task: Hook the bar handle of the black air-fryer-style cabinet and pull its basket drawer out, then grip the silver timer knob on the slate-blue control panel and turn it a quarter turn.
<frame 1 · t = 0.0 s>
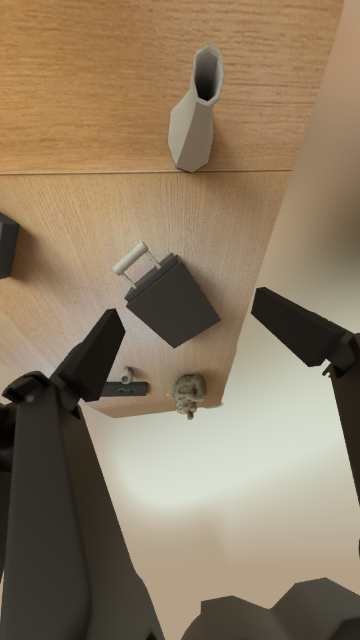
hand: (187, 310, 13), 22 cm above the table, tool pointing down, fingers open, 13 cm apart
teapot: (185, 377, 56), on the table
flask: (190, 140, 21), on the table
smart home device: (122, 387, 55), on the table
basket: (164, 291, 29), point 5 cm above the table, slide at 0.0 cm, touching fryer
fryer: (174, 297, 35), on the table
wristwatch: (129, 370, 50), on the table
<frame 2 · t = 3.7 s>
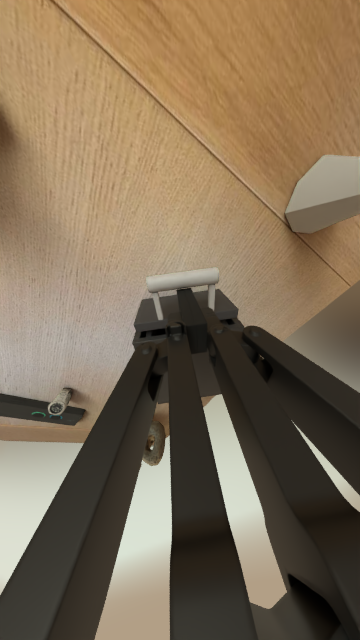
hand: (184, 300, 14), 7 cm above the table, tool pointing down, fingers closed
teapot: (139, 414, 45), on the table
flask: (312, 200, 17), on the table
smart home device: (43, 407, 37), on the table
basket: (186, 331, 21), point 5 cm above the table, slide at 0.8 cm, touching gripper
fryer: (185, 336, 27), on the table
wristwatch: (67, 391, 34), on the table
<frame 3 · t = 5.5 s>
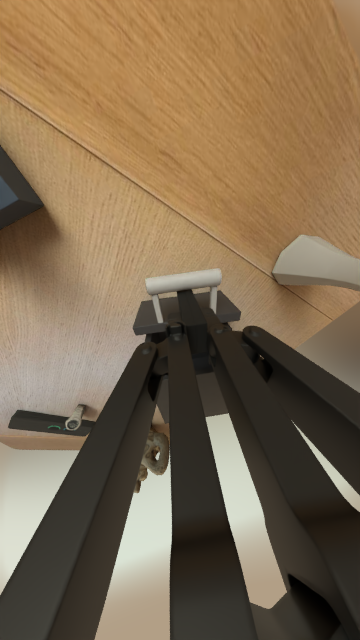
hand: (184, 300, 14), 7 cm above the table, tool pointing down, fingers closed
teapot: (144, 425, 48), on the table
flask: (294, 262, 20), on the table
smart home device: (57, 420, 40), on the table
basket: (186, 333, 20), point 5 cm above the table, slide at 8.1 cm
fryer: (188, 361, 31), on the table
wristwatch: (81, 407, 37), on the table
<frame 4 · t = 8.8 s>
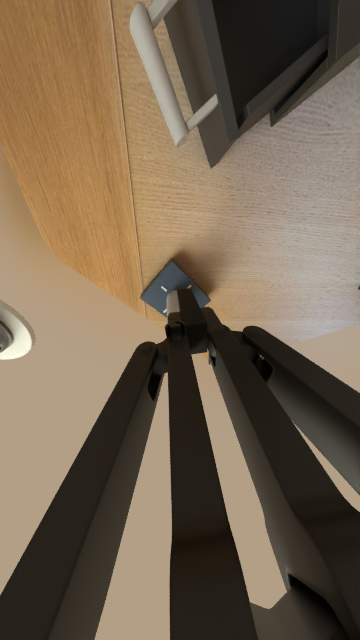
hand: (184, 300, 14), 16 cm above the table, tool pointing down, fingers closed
timer knob: (178, 309, 25), point 8 cm above the table, hinge at 0.0°
timer panel: (175, 294, 31), on the table
basket: (240, 34, 12), point 5 cm above the table, slide at 8.3 cm
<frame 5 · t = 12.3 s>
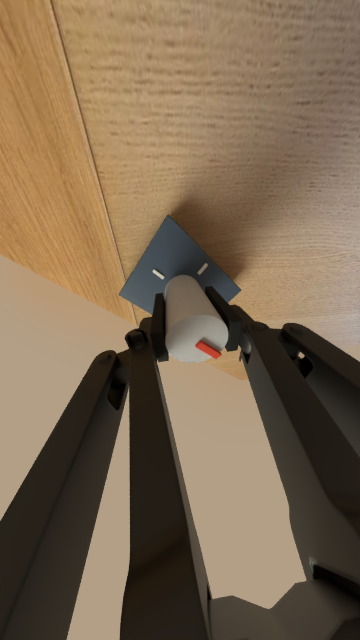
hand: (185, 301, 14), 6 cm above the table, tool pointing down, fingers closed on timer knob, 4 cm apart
timer knob: (187, 310, 13), point 8 cm above the table, hinge at 0.0°, touching gripper
timer panel: (180, 284, 19), on the table
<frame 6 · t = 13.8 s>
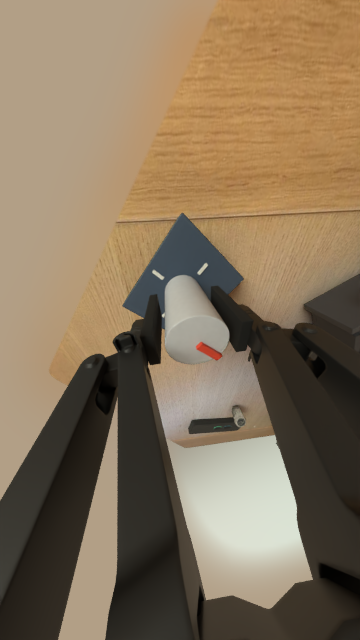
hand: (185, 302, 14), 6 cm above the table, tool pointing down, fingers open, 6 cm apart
timer knob: (188, 311, 12), point 8 cm above the table, hinge at 89.8°
timer panel: (180, 284, 19), on the table
smart home device: (215, 422, 50), on the table
wristwatch: (233, 408, 44), on the table
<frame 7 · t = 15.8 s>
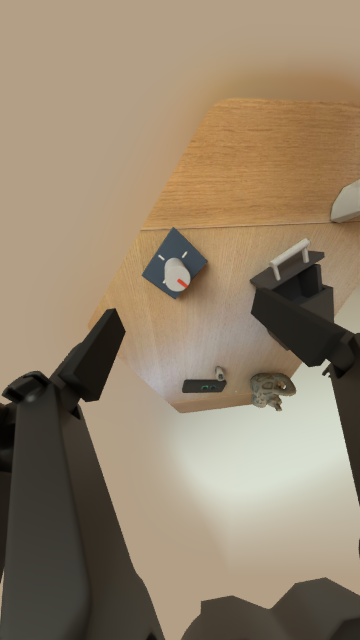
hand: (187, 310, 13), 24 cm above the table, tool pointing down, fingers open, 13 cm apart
teapot: (258, 375, 64), on the table
timer knob: (175, 273, 26), point 8 cm above the table, hinge at 89.8°
flask: (345, 203, 29), on the table
timer panel: (173, 265, 33), on the table
smart home device: (203, 384, 63), on the table
basket: (286, 283, 33), point 5 cm above the table, slide at 8.3 cm
fryer: (283, 309, 43), on the table
wristwatch: (216, 369, 58), on the table
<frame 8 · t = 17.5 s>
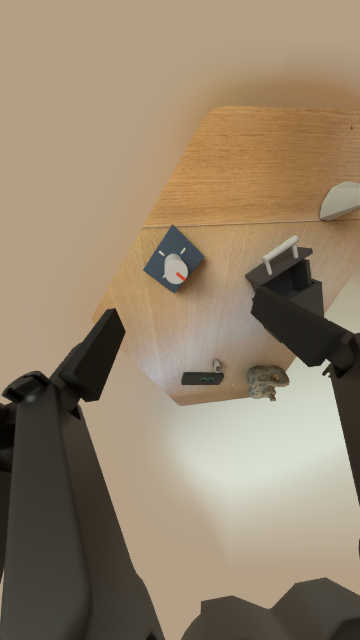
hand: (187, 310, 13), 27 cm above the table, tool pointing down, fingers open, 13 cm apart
teapot: (254, 368, 66), on the table
timer knob: (174, 267, 28), point 8 cm above the table, hinge at 89.8°
flask: (334, 202, 31), on the table
timer panel: (173, 261, 35), on the table
smart home device: (201, 377, 66), on the table
basket: (278, 278, 36), point 5 cm above the table, slide at 8.3 cm
fryer: (277, 303, 45), on the table
wristwatch: (214, 362, 60), on the table
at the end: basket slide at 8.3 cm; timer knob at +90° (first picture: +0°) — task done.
